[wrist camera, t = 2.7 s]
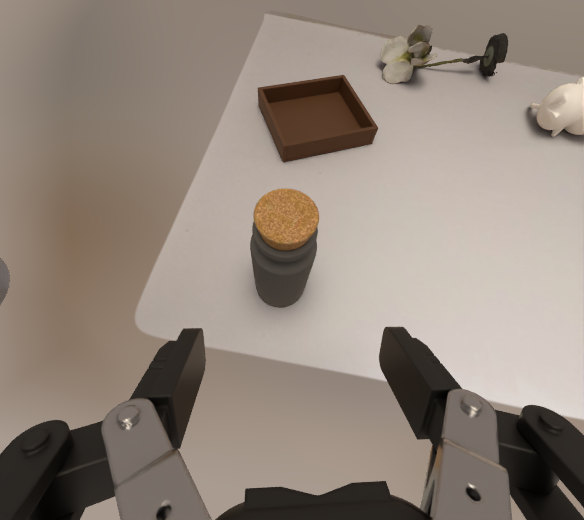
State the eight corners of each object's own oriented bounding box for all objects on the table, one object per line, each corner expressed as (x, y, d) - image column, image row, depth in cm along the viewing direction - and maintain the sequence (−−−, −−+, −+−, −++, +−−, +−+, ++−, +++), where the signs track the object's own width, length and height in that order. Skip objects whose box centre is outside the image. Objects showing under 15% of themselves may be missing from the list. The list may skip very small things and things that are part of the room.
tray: (282, 162, 41) (283, 146, 38) (258, 105, 46) (257, 87, 43) (371, 143, 44) (378, 127, 41) (340, 91, 49) (344, 74, 46)
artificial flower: (490, 94, 54) (532, 48, 44) (375, 99, 55) (391, 55, 45) (485, 55, 55) (524, 1, 45) (373, 60, 56) (387, 9, 46)
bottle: (281, 253, 35) (287, 169, 21) (314, 285, 33) (343, 217, 20) (245, 283, 33) (227, 211, 19) (279, 318, 31) (285, 267, 18)
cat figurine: (581, 74, 40) (660, 78, 40) (527, 76, 49) (592, 79, 49) (549, 139, 44) (619, 141, 45) (505, 130, 53) (564, 132, 54)
